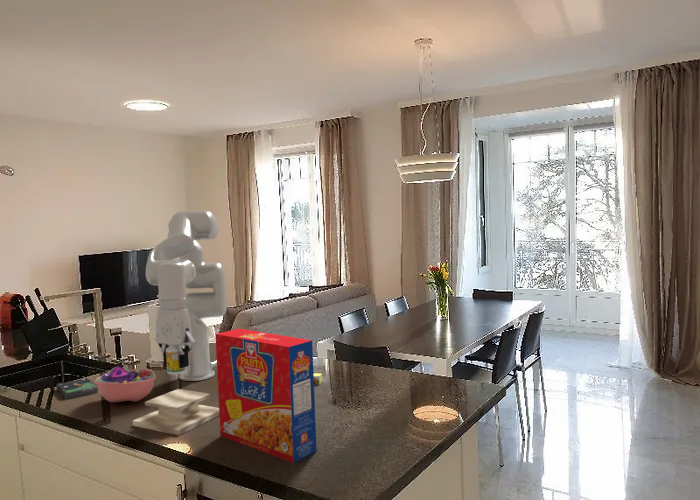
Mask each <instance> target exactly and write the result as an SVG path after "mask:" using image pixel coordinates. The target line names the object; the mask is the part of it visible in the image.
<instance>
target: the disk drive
mask: <svg viewBox="0 0 700 500" xmlns="http://www.w3.org/2000/svg"><path fill="white" fill-rule="evenodd" d="M56 390H58V391H59V392H60V393H61V394H62V395H63V396H64V397H63V396H62V395H61V394H60V393H59V392H58V391H57V392H58V393H59V394H60V395H61V396H62V397H63V398H64V399H65V400H70V398H71V399H74V398H80V397H85V396H91V395H93V394H98V392H99V389H98V386H97V385H96V383H94V382H92V381H91V380H90V379H89V378H88V377H85V378H80V379H75V380H70V381H68V382H59V383H56Z"/></svg>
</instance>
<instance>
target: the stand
mask: <svg viewBox="0 0 700 500" xmlns="http://www.w3.org/2000/svg"><path fill="white" fill-rule="evenodd" d="M209 398H211V393H206V392H201V391H194V390H187V389H181V388H177V389H175V390H172V391H169V392H167V393H164V394H162V395H159V396H156V397H154V398H151V399H149V400H147V401H144V406H147V407H153V408H157V410H155V411H153V412H152V411H151V412H150V413H148V414H145V415H143V416H141V417H138V418H136V419H133V420H132V426H133V427H137V428H142V429H147V430H152V431H157V432H161V433H166V434H171V435H176V436H181V435H182V434H185V433H187V432H189V431H191V430H193V429H196V428H197V427H200V426H201V425H203V424H205V422H206V423H208V422H210V421H211V419H212V420H214V419H215V417H216V418H217V416H218V417H219V407H215V406H211V405H210V406H208V405H203V404H199V403H200V402H203V401H206V400H207V399H209ZM213 418H214V419H213ZM209 420H210V421H209ZM207 421H208V422H207Z"/></svg>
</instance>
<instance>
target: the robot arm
mask: <svg viewBox="0 0 700 500" xmlns="http://www.w3.org/2000/svg"><path fill="white" fill-rule="evenodd" d="M167 226H168V234H167V238H165V239H163V240H162V241H161V242H160V243H158V244H157V245H155V247H152V249H151V251H150V252H149V255H148V257H147V261H146V265H145V279H146V281H147V282H148V284H149V285H151V286H158V306H159V309H158V310H157V313H156V324H155V335H156V336H155V339H154V341H155V342H156V344H158V347H159V348H160V350H161V351H160V352H161V353H162V356H163V357H162V359H163V366H164V367H167V362H166V349H167V347H169V345H178V348H179V351H180V355H179V368H184V367H186V371H185V372H184V373H181V374H179V379H180V380H182V381H186V382H195V381H196V382H197V381H204V380H207V379H211V378H213V377H214V376H216V375H215V374H216V373H215V370H213V368H214V367H217V360H214V361H211V357H210V340H209V328H208V326H207V324H206V323H205V322H204V321H203V320H202V319H203V318H218V317H223V316H225V314H226V312H227V306H228V305H227V304H228V303H227V288H226V286H227V285H226V275H225V269H224V266H223V265H222V263H220V262H215V261H214V262H205V261H204V249H203V247H202V246H201V244H200V243H199V242H198V241H204V240H205V241H207V240H215V239H216V238H217V237H218V235H219V230H220V229H219V223H218V219H217V217H216V216H215V215H214V214H213V213H212V212H211V211H209V210H184V211H178V212H176V213H174V214H173V215H172V217H171V218H170V220H169V221H168V225H167ZM177 258H179V259H177ZM186 289H187V290H191V289H192V290H194V289H212V290H213V291H199V292H198V291H192V292H186V291H187V290H186ZM183 346H184V349H183Z"/></svg>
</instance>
